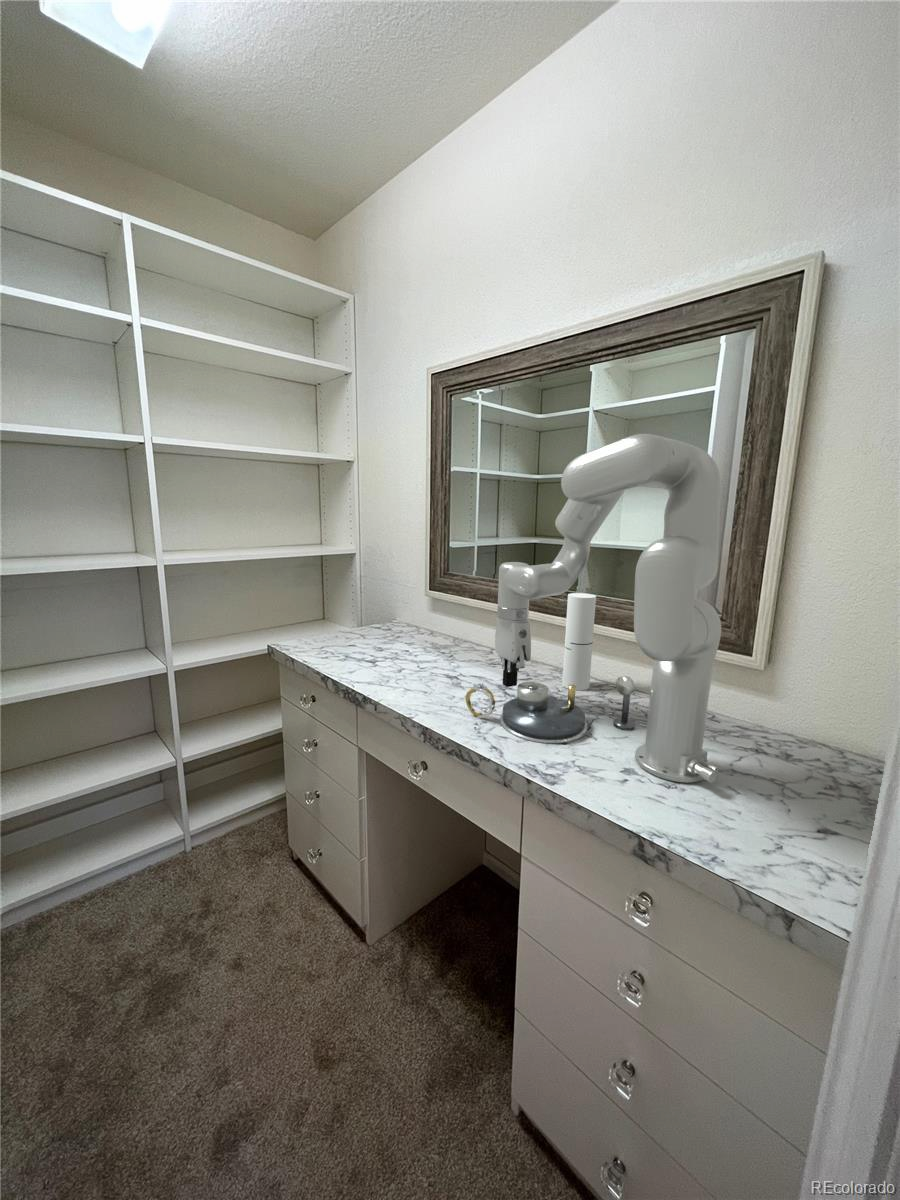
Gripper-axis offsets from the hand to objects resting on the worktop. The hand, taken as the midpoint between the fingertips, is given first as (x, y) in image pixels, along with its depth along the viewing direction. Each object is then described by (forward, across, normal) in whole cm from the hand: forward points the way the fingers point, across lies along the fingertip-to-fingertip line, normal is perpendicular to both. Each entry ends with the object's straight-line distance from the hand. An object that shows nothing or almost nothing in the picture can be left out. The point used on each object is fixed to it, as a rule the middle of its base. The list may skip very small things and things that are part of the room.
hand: (509, 685), depth 117 cm
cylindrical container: (+4, +2, -22) cm, 22 cm away
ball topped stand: (+4, -22, -16) cm, 28 cm away
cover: (+1, -10, 0) cm, 10 cm away
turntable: (+4, -14, 0) cm, 15 cm away
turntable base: (+4, -14, 0) cm, 15 cm away
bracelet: (+4, -7, +12) cm, 14 cm away
